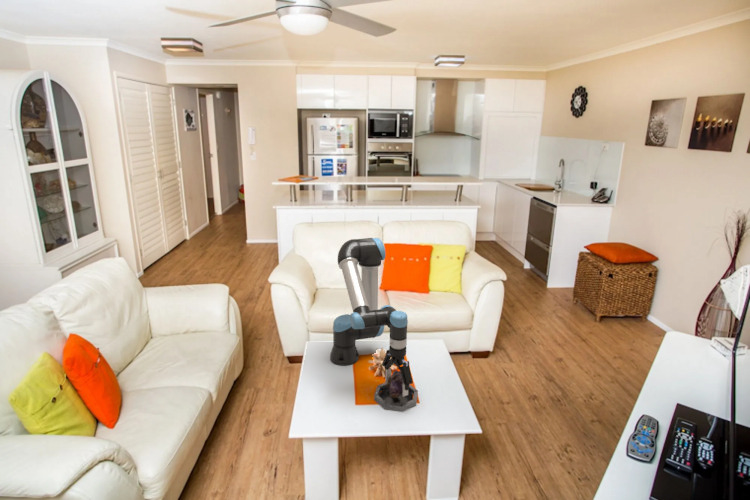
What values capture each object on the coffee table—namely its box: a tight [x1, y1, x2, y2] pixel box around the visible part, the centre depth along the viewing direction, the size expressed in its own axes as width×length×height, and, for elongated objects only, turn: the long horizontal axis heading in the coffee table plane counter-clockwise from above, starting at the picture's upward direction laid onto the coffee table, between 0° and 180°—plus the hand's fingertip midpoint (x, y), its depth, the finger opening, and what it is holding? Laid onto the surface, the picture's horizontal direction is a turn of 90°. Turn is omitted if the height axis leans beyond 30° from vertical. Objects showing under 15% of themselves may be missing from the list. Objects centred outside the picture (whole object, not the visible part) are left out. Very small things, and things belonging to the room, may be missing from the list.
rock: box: [386, 369, 404, 398], centre depth 200 cm, size 12×9×10 cm
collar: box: [373, 382, 419, 412], centre depth 203 cm, size 19×19×2 cm
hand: (396, 388), depth 201 cm, fingers closed on rock, 12 cm apart
